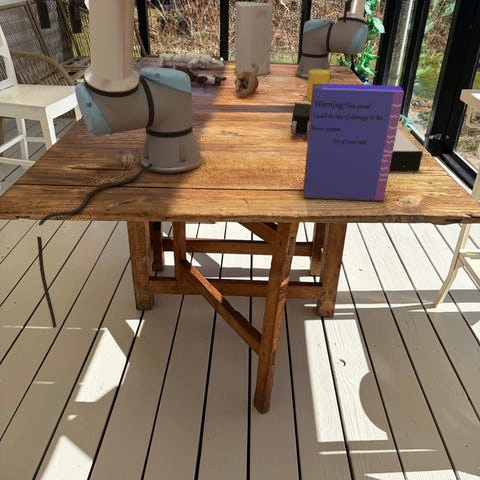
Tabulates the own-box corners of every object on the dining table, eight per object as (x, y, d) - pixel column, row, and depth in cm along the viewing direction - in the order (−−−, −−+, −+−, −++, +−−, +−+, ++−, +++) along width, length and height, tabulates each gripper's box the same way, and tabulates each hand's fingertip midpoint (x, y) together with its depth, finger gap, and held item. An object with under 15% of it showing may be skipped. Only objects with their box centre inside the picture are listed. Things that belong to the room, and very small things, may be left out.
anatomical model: (248, 99, 191) (242, 101, 177) (232, 84, 190) (225, 85, 176) (269, 75, 187) (265, 74, 173) (253, 59, 186) (248, 57, 172)
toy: (179, 76, 209) (178, 59, 205) (154, 65, 226) (153, 50, 223) (226, 70, 221) (226, 54, 217) (199, 60, 238) (198, 45, 235)
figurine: (149, 84, 182) (227, 91, 186) (149, 62, 179) (229, 70, 183) (154, 81, 204) (223, 88, 208) (154, 62, 201) (225, 69, 205)
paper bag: (273, 76, 210) (276, 6, 196) (239, 77, 209) (240, 6, 194) (266, 67, 226) (268, 2, 212) (235, 67, 225) (235, 1, 210)
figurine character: (312, 146, 139) (312, 125, 151) (314, 121, 134) (315, 101, 146) (289, 145, 139) (291, 123, 151) (290, 120, 135) (293, 100, 147)
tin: (312, 94, 185) (314, 68, 180) (330, 97, 181) (333, 70, 176) (303, 98, 179) (305, 71, 174) (322, 102, 176) (325, 74, 171)
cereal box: (379, 191, 109) (398, 84, 97) (383, 201, 105) (404, 90, 93) (303, 188, 110) (312, 82, 98) (304, 197, 106) (314, 88, 94)
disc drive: (349, 170, 120) (352, 151, 117) (332, 140, 139) (334, 123, 137) (418, 171, 120) (423, 152, 118) (392, 140, 140) (395, 124, 137)
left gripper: (91, -63, 113) (103, 33, 124) (29, -63, 126) (45, 25, 136) (64, -64, 108) (79, 37, 119) (2, -64, 120) (21, 27, 131)
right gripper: (293, -50, 154) (288, 22, 165) (371, -49, 152) (362, 23, 163) (292, -50, 160) (289, 19, 171) (368, -49, 158) (359, 21, 169)
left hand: (61, 31), depth 128 cm, fingers open, 13 cm apart
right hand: (324, 21), depth 167 cm, fingers open, 13 cm apart
